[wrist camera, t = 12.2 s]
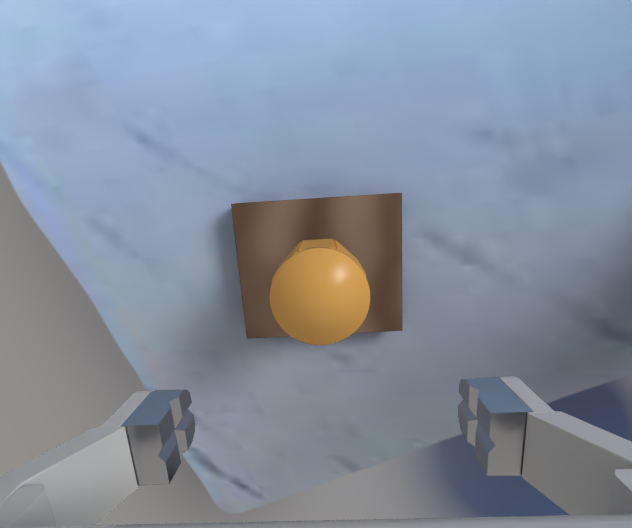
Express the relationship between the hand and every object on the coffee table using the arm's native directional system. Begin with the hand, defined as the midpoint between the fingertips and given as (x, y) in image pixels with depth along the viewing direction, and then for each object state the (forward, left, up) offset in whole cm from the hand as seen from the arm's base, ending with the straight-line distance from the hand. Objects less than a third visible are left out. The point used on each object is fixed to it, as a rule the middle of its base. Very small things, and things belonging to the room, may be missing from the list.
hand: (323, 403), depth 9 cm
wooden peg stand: (0, 0, -20) cm, 20 cm away
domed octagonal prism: (0, 0, -15) cm, 15 cm away
